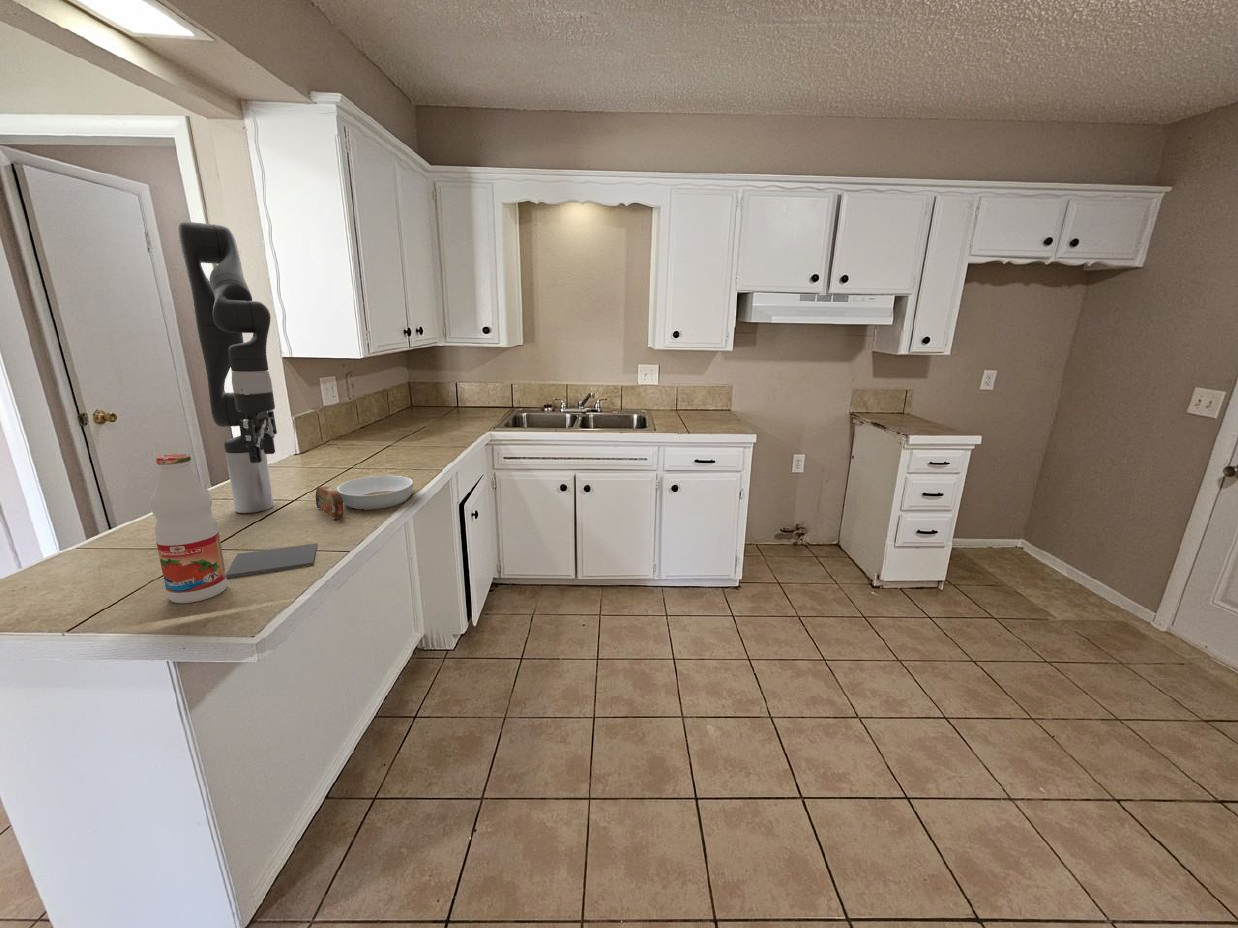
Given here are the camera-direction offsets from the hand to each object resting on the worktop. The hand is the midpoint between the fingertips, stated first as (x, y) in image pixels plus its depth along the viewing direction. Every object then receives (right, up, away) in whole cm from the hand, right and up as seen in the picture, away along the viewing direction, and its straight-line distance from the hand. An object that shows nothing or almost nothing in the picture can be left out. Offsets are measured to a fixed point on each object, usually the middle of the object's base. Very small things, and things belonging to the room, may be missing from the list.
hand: (263, 458), depth 125 cm
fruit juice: (+2, -27, -21) cm, 35 cm away
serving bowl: (+12, -14, +33) cm, 38 cm away
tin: (+4, -17, +22) cm, 28 cm away
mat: (+7, -24, -6) cm, 25 cm away
